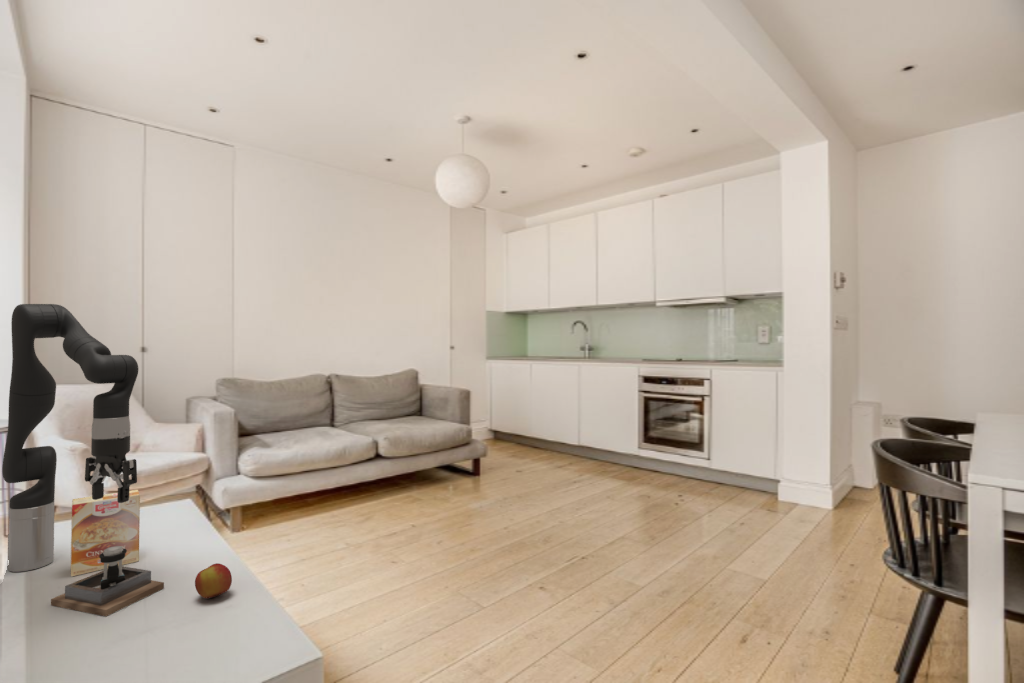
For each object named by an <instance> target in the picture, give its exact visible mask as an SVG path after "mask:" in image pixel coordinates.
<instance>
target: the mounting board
mask: <svg viewBox="0 0 1024 683" xmlns="http://www.w3.org/2000/svg"><path fill="white" fill-rule="evenodd" d="M96 589H101V587H100V588H96ZM164 589H165V582H163V581H158V580H157V581H156V580H153V579H151V583H149V584H147V585H145V586H143V587H141V588H139V589H136V590H134V591H132V592H130V593H128V594H126V595H123V596H121V597H119V598H117V599H115V600H113V601H111V602H108V603H106V604H104V605H102V606H100V605H95V604H89V603H84V602H79V601H74V600H69V599H65V592H64V593H62V594H60V595H58V596H55V597H53V598H52V597H51V598H50V606H51V607H52V606H53V607H57V608H62V609H67V610H72V611H77V612H81V613H86V614H92V615H97V616H102V617H108V616H111V615H113V614H114V613H117V612H118V611H120V610H122V609H124V608H127V607H128V606H130V605H131V606H132V605H133V604H134V603H137V602H138V601H141V600H144V599H145V598H147V597H149V596H151V595H153V594H155V593H157V592H159V591H162V590H164Z"/></svg>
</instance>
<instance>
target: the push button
mask: <svg viewBox="0 0 1024 683" xmlns="http://www.w3.org/2000/svg"><path fill="white" fill-rule="evenodd" d="M126 552H127V550H126V549H122V546H114V547H110V548H107V549H105V550H104V552H103V553H101V554H100V555H99V558H101V562H102V563H104V569H103V571H104V577H103V578H102V580H101V585H100V586H97V587H93V588H100V587H101V589H102V590H104V589H106V588H108V587H111V586H113V585H115V584H117V583H120V582H122V581H124V580H125V576H124V575H123V573H122V566H123V565H122V559H123V558H124V557H125V553H126ZM117 562H119V575H118V563H117ZM107 564H109V566H108V568H107ZM107 569H108V579H107Z"/></svg>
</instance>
